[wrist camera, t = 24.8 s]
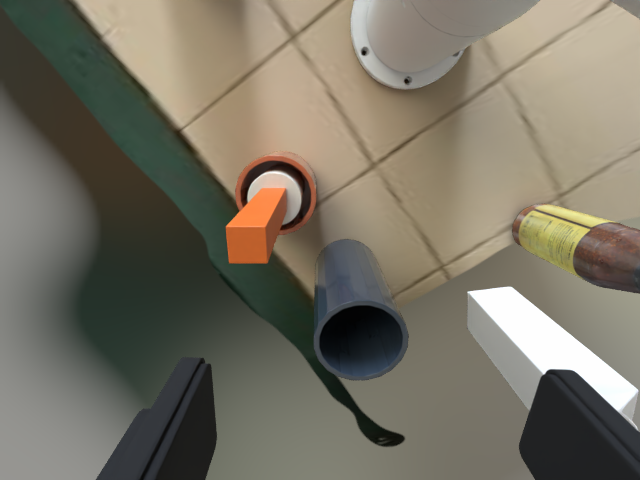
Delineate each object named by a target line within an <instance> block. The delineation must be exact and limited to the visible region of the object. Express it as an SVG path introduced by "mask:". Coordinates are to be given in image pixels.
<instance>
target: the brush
mask: <svg viewBox="0 0 640 480" xmlns="http://www.w3.org/2000/svg"><path fill="white" fill-rule="evenodd" d="M303 194H304V183H303V180H302V178H301V176H300V175H299V173H298V172H297V171H296V170H294V169H293V168H291V167H289V166H285V165H277V166H273V167H271V168H269V169H268V170H266V171H265V172H264V173H263V174H261V175H260V176H259V177H258V178H256V179H255V180H254V182H253V183H252V184H251V186H250V188H249V191H248V203H247V205H246V206H245V207H244V208H243V209H242V210H241V211H240V212H239V213H238V214H237V215H236V216H235V217H234V218H233V219H232V221H231V222H230V223H229V224H228V225H227V226H226V235H227V246H228V256H229V263H268V260H269V258H270V255H271V252H272V250H273V247H274V244H275V242H276V239H277V236H278V234H279V231H280V228H281V226H282V225H284V224H286V223H288V222H290V221H292V220H293V219H294V218H295V217H296V215H297V214H298V212H299V210H300V207H301V203H302V199H303Z"/></svg>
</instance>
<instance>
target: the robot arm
mask: <svg viewBox="0 0 640 480" xmlns="http://www.w3.org/2000/svg"><path fill="white" fill-rule="evenodd" d="M539 1H540V0H354V3H353V8H352V13H351V25H350V31H351V38H352V44H353V47H354V50H355V54H356V56H357V58H358V60H359V62H360V63H361V65H362V67H363V68H364V69H365V70H366V71H367V73H368V74H369V75H370V76H372V77H373V78H374V79H375V80H376V81H378V82H380V83H382V84H384V85H385V86H388V87H392V88H395V89H406V90H409V89H415V88H420V87H423V86H426V85H428V84H430V83H432V82H434V81H437V80H438V79H439V78H441V77H442V76H444V75H445V74H446V73H447V72H448V71H449V70H450V69H451V68H452V67H453V66H454V65H455V64H456V63H457V61H458V60H459V59H460V57H461V56H462V54H463V52H464V50H465V48H466V47H467V46H469V45H471V44H473V43H475V42H477V41H478V40H480V39H482V38H484V37H486V36H487V35H489V34H491V33H493V32H495V31H497V30H498V29H500V28H502V27H503V26H505V25H507V24H508V23H510V22H512V21H514V20H515V19H517V18H519V17H520V16H521V15H523V14H524V13H526V12H527V11H528V10H530V9H531V8H532V7H533V6H534V5H536V4H537V3H538V2H539ZM610 1H612V2H613V3H615V4H617V5H618V6H620V7H621V8H623V9H625V10H626V11H628V12H629V13H631V14H632V15H634V16H636V17H637V18H639V19H640V0H610ZM362 51H365V52H366V55H365V56H363V55H362ZM453 54H454V56H452V55H453ZM405 79H407V80H408V83H407V84H405V83H404V80H405ZM216 440H217V432H216V420H215V408H214V395H213V382H212V370H211V365H210V364H205V360H204V358H188V357H183V358H181V359H180V361H179V362H178V364H177V366H176V367H175V369H174V371H173V373H172V374H171V376H170V378H169V379H168V381H167V382H166V384H165V386H164V388H163V389H162V391H161V393H160V394H159V396H158V398H157V399H156V401H155V403H154V404H153V406H152V408H151V409H142V410H141V411H140V412H139V413H138V414H137V416H136V417H135V419H134V420H133V422H132V423H131V425H130V426H129V428H128V430H127V431H126V433H125V434H124V436H123V438H122V439H121V441H120V442H119V444H118V445H117V447H116V449H115V450H114V452H113V454H112V455H111V457H110V458H109V460H108V461H107V463H106V464H105V466H104V468H103V469H102V471H101V473H100V474H99V476H98V477H97V479H96V480H205V478H206V476H207V472H208V469H209V465H210V463H211V460H212V457H213V454H214V450H215V446H216ZM519 450H520V454H521V457H522V459H523V460H524V462H525V464H526V465H527V467H528V468H529V470H530V472H531V473H532V475H533V477H534V478H535V480H640V432H639V431H638V430H637V429H635V428H634V427H633V426H632V425H631V424H630V423H629V422H628V421H627V420H626V419H625V418H624V417H623V416H622V415H621V414H620V413H619V412H618V411H617V410H616V409H615V408H613V407H612V406H611V405H610V404H609V403H608V402H607V401H606V400H605V399H604V398H603V397H602V396H601V395H600V394H599V393H598V392H597V391H596V390H595V389H594V388H593V387H591V386H590V385H589V384H588V383H587V382H586V381H585V380H584V379H583V378H582V377H581V376H580V375H579V374H578V373H576V372H575V371H573V370H566V369H549V370H548V371H546V373H545V374H544V375H542V376H541V378H540V381H539V384H538V387H537V390H536V393H535V396H534V399H533V403H532V406H531V409H530V412H529V415H528V418H527V421H526V424H525V427H524V430H523V434H522V437H521V440H520V443H519Z"/></svg>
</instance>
